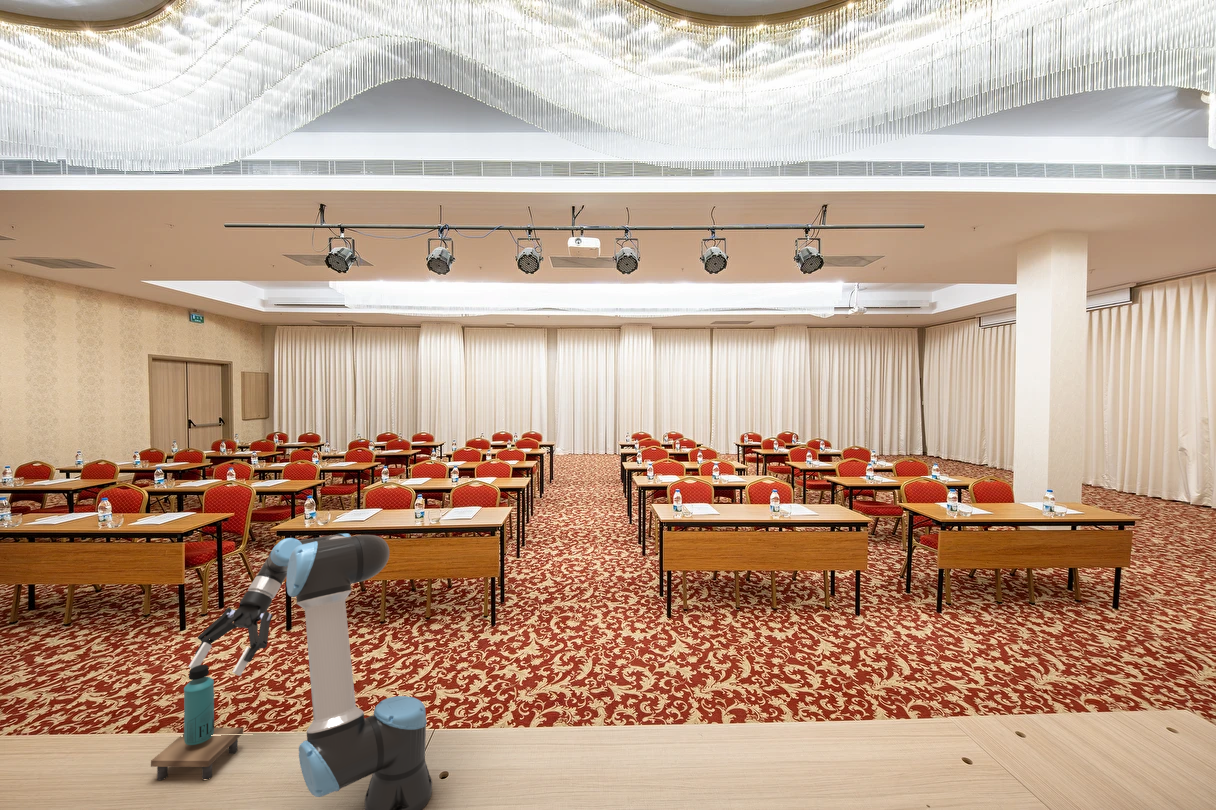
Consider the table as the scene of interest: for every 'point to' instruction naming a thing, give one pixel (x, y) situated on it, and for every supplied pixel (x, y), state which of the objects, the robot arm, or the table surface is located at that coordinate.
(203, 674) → the beverage bottle
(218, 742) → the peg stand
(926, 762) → the table surface
